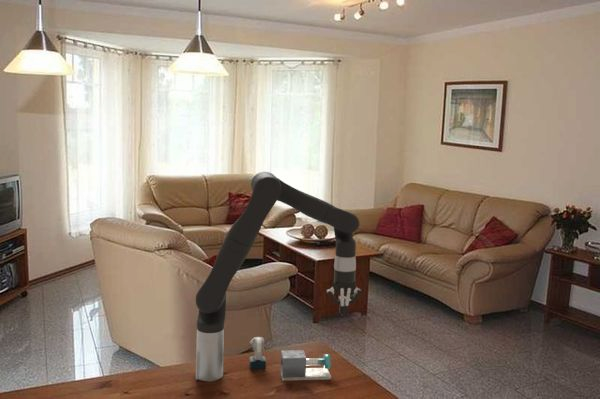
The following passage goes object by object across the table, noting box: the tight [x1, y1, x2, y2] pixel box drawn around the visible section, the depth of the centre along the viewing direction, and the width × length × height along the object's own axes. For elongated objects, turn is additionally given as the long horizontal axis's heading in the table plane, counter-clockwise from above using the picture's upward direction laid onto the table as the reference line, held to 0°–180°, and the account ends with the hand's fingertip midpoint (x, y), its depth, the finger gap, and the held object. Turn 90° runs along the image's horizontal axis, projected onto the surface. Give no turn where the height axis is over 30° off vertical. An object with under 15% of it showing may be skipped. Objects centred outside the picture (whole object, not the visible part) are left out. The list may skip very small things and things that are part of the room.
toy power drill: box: [249, 336, 267, 371], centre depth 199 cm, size 6×8×11 cm
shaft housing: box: [280, 349, 332, 382], centre depth 194 cm, size 17×7×8 cm, turn 98°
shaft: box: [306, 353, 332, 370], centre depth 195 cm, size 14×5×5 cm, turn 98°
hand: (343, 315), depth 196 cm, fingers closed
